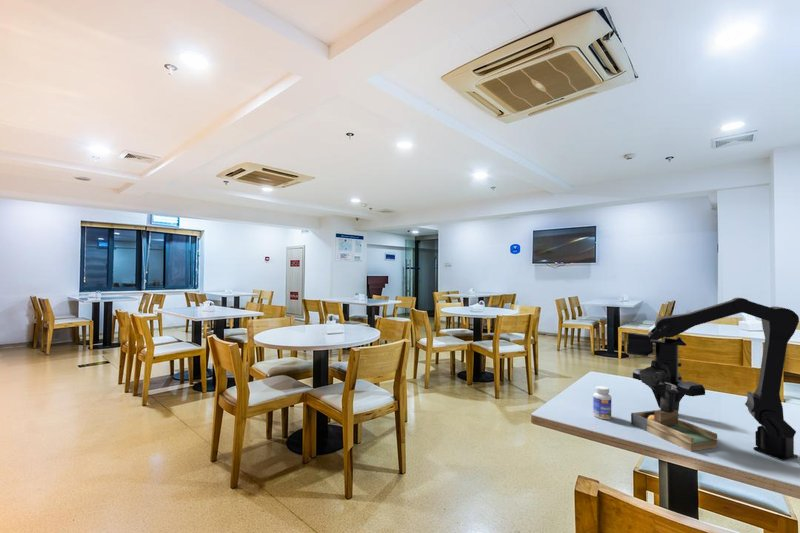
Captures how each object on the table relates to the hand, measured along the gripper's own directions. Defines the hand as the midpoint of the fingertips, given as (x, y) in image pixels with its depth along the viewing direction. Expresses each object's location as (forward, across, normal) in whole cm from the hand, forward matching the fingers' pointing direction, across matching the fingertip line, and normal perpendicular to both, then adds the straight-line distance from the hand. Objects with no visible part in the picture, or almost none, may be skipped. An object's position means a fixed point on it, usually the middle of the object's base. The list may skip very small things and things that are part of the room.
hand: (666, 409), depth 112 cm
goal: (+7, -5, 0) cm, 8 cm away
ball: (+4, -5, 0) cm, 6 cm away
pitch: (+7, +4, 0) cm, 8 cm away
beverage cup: (+7, -11, +16) cm, 21 cm away
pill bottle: (+7, -15, -9) cm, 19 cm away
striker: (+5, 0, 0) cm, 5 cm away
